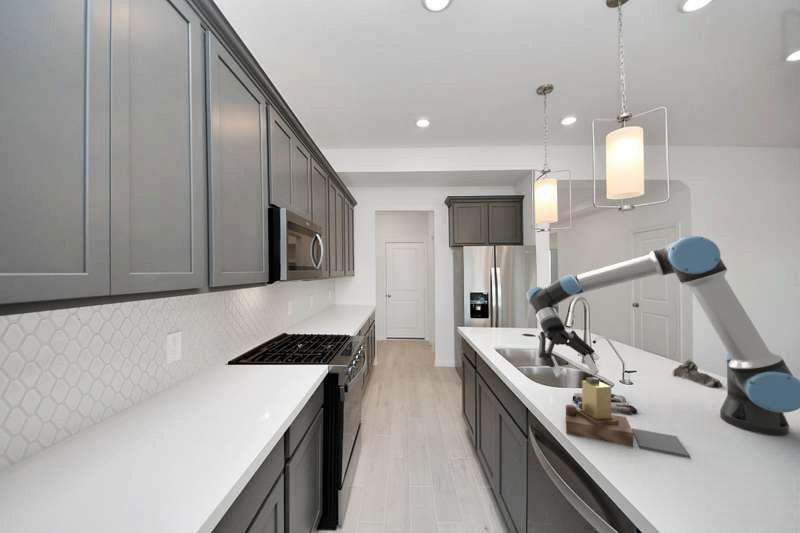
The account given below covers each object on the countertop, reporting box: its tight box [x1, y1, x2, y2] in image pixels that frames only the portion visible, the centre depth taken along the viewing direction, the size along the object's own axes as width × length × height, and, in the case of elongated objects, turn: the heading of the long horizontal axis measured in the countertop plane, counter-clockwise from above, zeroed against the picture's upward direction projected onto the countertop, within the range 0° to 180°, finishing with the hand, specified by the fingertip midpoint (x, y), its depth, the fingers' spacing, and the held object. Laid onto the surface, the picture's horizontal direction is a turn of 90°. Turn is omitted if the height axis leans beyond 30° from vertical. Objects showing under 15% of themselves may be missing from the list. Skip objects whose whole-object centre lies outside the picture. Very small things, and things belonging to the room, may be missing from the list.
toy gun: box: [572, 392, 638, 415], centre depth 120 cm, size 3×20×15 cm
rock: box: [671, 358, 723, 389], centre depth 146 cm, size 18×11×10 cm, turn 1°
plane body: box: [565, 404, 634, 448], centre depth 100 cm, size 17×11×6 cm
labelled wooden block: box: [581, 376, 612, 421], centre depth 100 cm, size 5×6×12 cm
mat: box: [631, 427, 691, 459], centre depth 93 cm, size 11×11×1 cm
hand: (577, 374), depth 107 cm, fingers open, 13 cm apart
